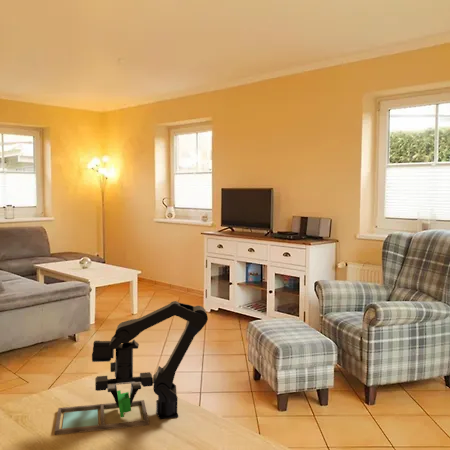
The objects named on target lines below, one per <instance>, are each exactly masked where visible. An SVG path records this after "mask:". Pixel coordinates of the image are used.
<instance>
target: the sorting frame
mask: <svg viewBox="0 0 450 450" xmlns="http://www.w3.org/2000/svg"><path fill="white" fill-rule="evenodd" d="M131 406H132V407H133V406H141V410H142V415H143V420H135V421H134V420H133V421H132V420H131V421H124V422H115V423H106V422H105V409H113V408H118V407H117V405H116V402H110V403H99V404H98V403H97V404H89V405H87V404H86V405H78V406H76V405H75V406H69V407H68V406H65V407H64V406H63V407H58V408H57V416H56V422H55V427H54V435H65V434H74V433H83V432H84V433H85V432H94V431H103V430H111V429H112V430H113V429H122V428H130V427H140V426H149V425H150V420H149V417H148V416H149V415H148V411H147V408H146V403H145V400H144V399H142V400H140V399H139V400H133V401H132V404H131ZM99 410H100V424H99V413H98V412H99ZM62 413H63V420H62V427H61V428H60V425H61V416H62Z"/></svg>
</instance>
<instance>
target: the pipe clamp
mask: <svg viewBox="0 0 450 450" xmlns="http://www.w3.org/2000/svg"><path fill="white" fill-rule="evenodd" d="M117 395H118V403H119V407H118V409H119V417H120V418H121V419H122V418H124V417H125V415H124V414H125V413H128V412H132V407H131V405H130V394H129V391H127V392H123V393H121V390H117Z"/></svg>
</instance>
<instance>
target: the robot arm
mask: <svg viewBox="0 0 450 450" xmlns="http://www.w3.org/2000/svg"><path fill="white" fill-rule="evenodd" d="M174 316H175V317H177V318H180V319H182V320H184V321H186V323H185V328H184V330H183V331H182V333H181V335H180V337H179V339H178V341H177V343H176V344H175V347H174V349H173V350H172V353H171V354H170V356H169V358H168V359H167V362H166V363H165V365H164V366H162V367H161V366H160V365H159V366H157V370H156V372H155V373H154V374H153V375H152V372H151V371H149V372H140V373H139V376H134V349H135V350H137V349H139V346H140V344H139V343H138V342H137V341H136V340H135V338H136V337H138V336H139V335H140V334H141V333H142V332H143V331H145V330H147V329H150V328H151V327H153V326H156V325H157V324H160V323H162V322H164V321H166V320H168V319H170V318H172V317H174ZM208 318H209V317H208V314H207V311H206V309H205V308H204V307H203V306H201V305H191V304H187V303H182V302H179V301H177V300H174V301H171V302H170V303H168V304H166V305H164V306H163V307H160V308H158V309H156V310H154V311H152V312H150V313H148V314H146V315H143V316H141V317H139V318H135V319H128V320H126V321H122V322H120V323H119V324H118V325H117V327H116V330H115V333H114V334H113V336H111V338H110V340H94V341H93V347H92V352H91V361H92V363H99V362H100V363H102V362H103V363H105V362H110V363H109V364H110V373H114V378H108V375H99V376H96V377H95V381H94V382H95V385H94V386H95V388H94V389H95V391H97V392H98V391H107V392H108V393H110V394H111V395H112V397H113V398H114V403H116V405H117V407H116V408H119V403H118V394H117V391H118V390H117V389H118V388H117V385H126V384H130V394H129V398H130V405H131V404H132V401H134V399H135V397H136V395H137V393H138V391H139V390H141V389H142V387H152V386H153V392H154V394H155V395H157V400H156V401H155V402H156V404H155V405H156V406H155V411H156V415H157V416H158V419H159V420H162V419H165V420H166V419H173V418H179V413H178V399H179V398H178V394H177V393H178V392H177V385H176V384H175V383H174V379H175V376H176V372H177V370H178V368H179V367H180V364H181V362H182V361H183V359H184V357H185V355H186V353H187V352H188V349H189V348H190V346H191V344H192V342H193V340H194V339H195V336H197V334H199V333H200V332H201V331H202V329H204V327H205V326H206V324H207V323H208ZM114 357H115V362H111V361H112V359H114Z"/></svg>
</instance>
